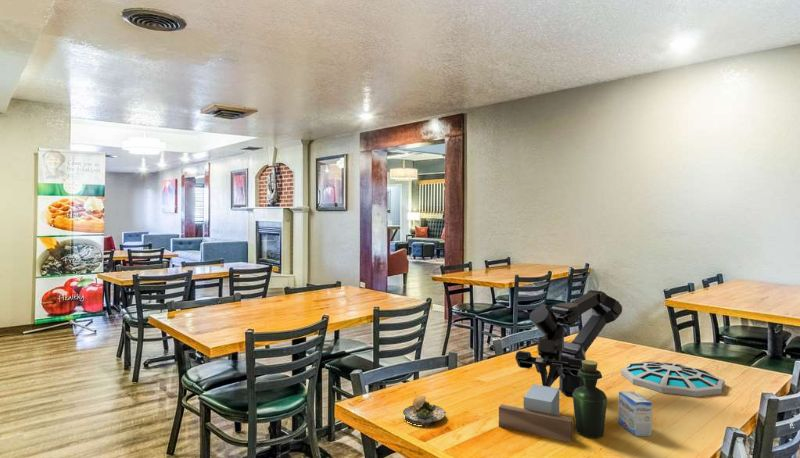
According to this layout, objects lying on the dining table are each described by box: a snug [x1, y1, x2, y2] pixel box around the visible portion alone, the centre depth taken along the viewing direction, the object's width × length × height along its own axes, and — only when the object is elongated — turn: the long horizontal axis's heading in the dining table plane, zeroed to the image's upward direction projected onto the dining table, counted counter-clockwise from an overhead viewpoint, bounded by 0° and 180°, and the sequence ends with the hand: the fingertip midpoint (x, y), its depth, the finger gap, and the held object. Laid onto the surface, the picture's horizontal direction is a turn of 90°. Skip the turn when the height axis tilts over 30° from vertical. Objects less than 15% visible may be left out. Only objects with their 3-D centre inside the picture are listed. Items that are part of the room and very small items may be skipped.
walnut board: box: [498, 404, 574, 443], centre depth 117 cm, size 2×18×5 cm, turn 60°
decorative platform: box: [620, 360, 726, 398], centre depth 156 cm, size 31×29×5 cm
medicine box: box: [617, 390, 653, 437], centre depth 118 cm, size 8×4×9 cm, turn 5°
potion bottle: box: [572, 359, 608, 439], centre depth 116 cm, size 8×8×18 cm
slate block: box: [523, 384, 560, 415], centre depth 122 cm, size 11×7×8 cm, turn 151°
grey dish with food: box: [402, 392, 447, 427], centre depth 126 cm, size 12×12×8 cm
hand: (545, 390), depth 128 cm, fingers closed, pressing on slate block
